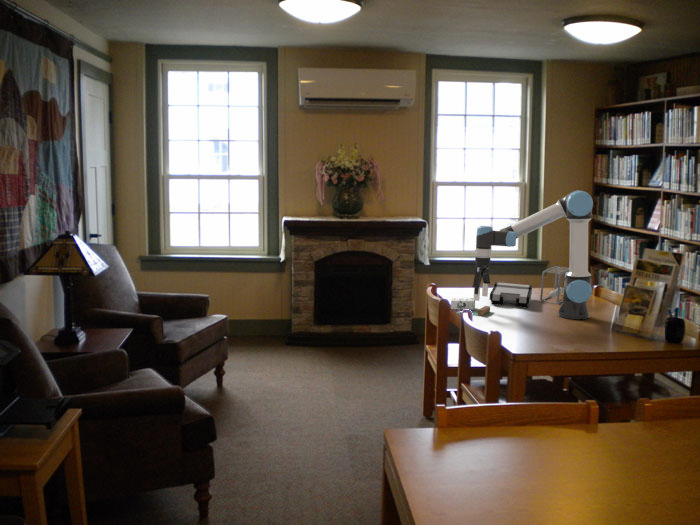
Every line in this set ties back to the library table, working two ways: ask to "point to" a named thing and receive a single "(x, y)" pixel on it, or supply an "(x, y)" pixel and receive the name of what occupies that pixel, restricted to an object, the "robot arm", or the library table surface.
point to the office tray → (511, 294)
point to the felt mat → (475, 313)
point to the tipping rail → (483, 310)
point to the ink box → (463, 303)
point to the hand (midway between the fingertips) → (480, 298)
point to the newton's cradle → (556, 290)
